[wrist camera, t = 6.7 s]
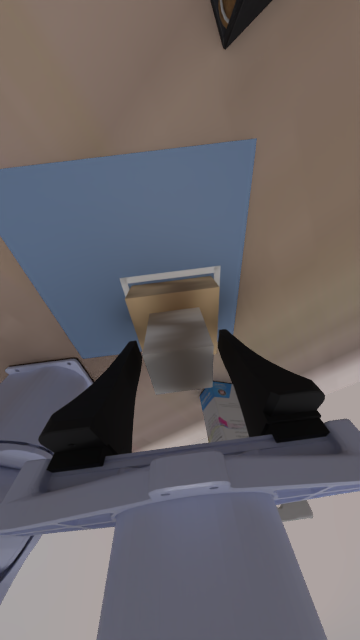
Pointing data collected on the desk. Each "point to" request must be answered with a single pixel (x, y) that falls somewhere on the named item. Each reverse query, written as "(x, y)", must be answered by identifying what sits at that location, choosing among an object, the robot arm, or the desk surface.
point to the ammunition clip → (235, 16)
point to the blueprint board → (127, 232)
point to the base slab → (174, 302)
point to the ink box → (238, 434)
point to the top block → (178, 351)
